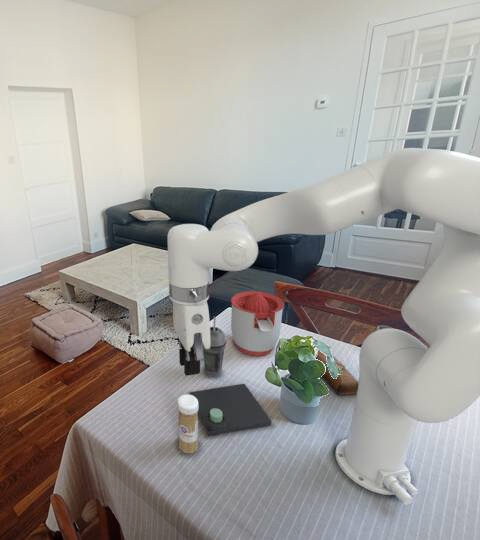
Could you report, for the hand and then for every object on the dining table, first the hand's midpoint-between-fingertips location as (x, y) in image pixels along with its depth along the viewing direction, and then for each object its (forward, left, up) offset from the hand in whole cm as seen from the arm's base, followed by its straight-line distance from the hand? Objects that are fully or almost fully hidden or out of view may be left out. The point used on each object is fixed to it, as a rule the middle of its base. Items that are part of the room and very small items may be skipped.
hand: (189, 368), depth 71 cm
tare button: (+4, -8, -20) cm, 22 cm away
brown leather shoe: (+16, -48, -22) cm, 55 cm away
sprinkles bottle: (0, 0, -22) cm, 22 cm away
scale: (+9, -13, -22) cm, 27 cm away
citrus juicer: (+33, -33, -22) cm, 52 cm away
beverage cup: (+24, -15, -22) cm, 36 cm away
